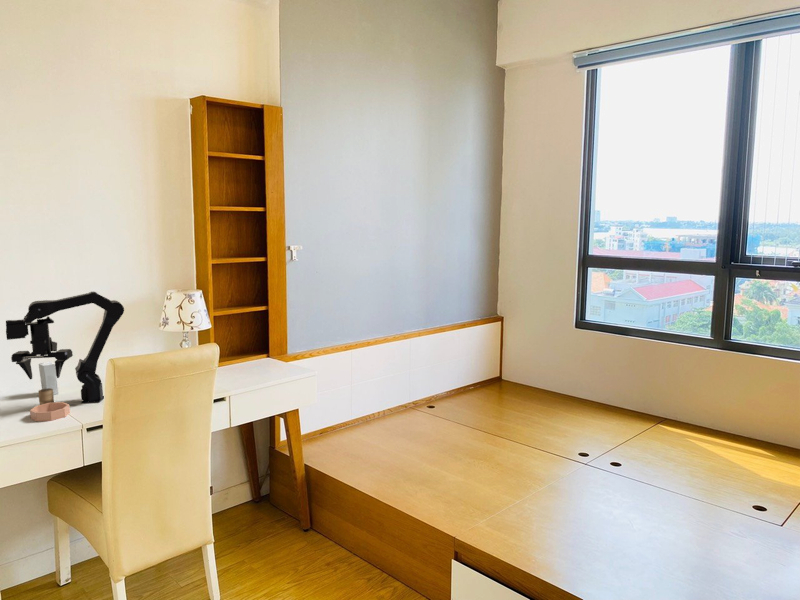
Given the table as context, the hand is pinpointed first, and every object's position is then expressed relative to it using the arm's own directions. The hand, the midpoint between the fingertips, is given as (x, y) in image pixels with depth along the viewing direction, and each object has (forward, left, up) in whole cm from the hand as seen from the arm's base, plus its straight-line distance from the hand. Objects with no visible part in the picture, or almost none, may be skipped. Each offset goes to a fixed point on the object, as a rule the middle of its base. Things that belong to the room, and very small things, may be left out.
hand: (44, 378), depth 228 cm
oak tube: (0, 0, -11) cm, 11 cm away
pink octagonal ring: (-5, +10, -11) cm, 16 cm away
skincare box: (+6, -18, -11) cm, 22 cm away
